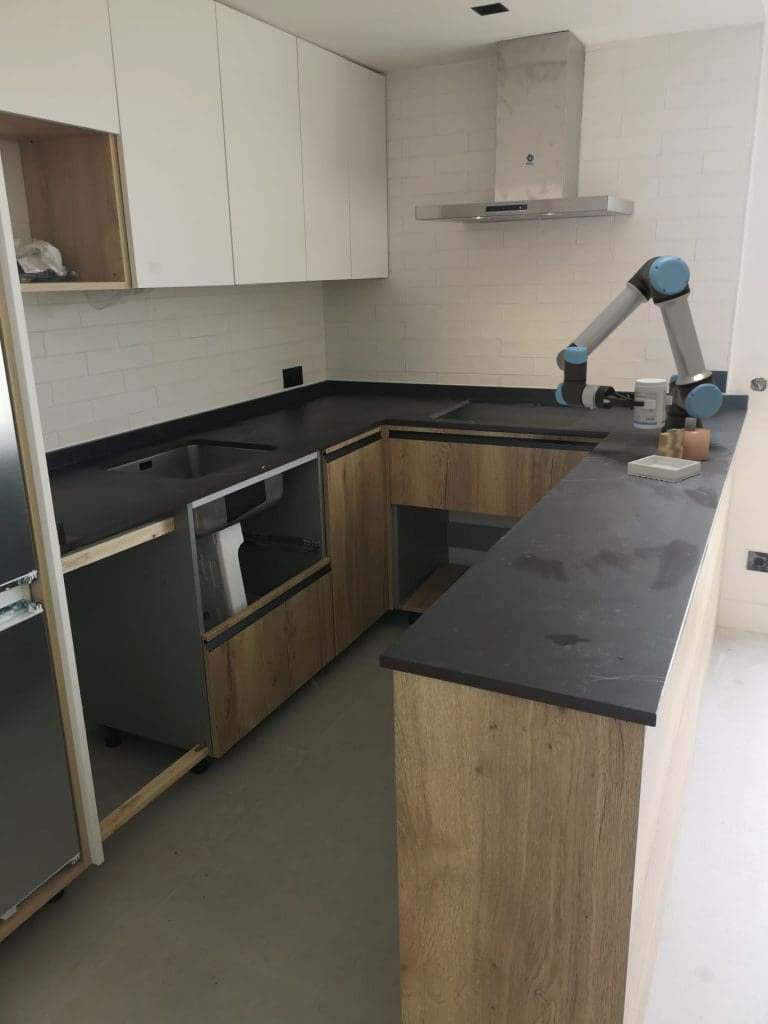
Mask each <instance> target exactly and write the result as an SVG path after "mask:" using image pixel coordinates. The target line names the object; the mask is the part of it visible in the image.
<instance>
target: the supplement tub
mask: <svg viewBox="0 0 768 1024" xmlns="http://www.w3.org/2000/svg"><path fill="white" fill-rule="evenodd" d="M634 383H635V384H634V392H633V393H634V401H635V399H647V400H656V406H655V409H645V408H635V406H634V410H633V421H632V422H633V423H632V424H633V427H634V428H637V429H641V430H658V429H659V430H660V429H662V427H664V425H665V420H666V414H667V410H666V408H667V405H666V396H667V395H668V394H667V392H668V385H667V383H668V381H667V380H666V379H664V378H651V377H650V378H638V379H636V380H635V382H634Z"/></svg>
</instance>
